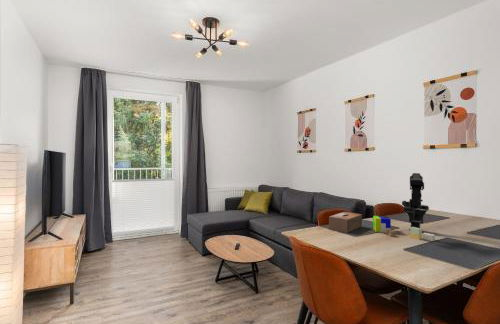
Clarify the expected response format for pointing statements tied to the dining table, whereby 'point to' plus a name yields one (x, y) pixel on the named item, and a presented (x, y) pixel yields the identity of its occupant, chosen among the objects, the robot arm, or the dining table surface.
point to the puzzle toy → (381, 223)
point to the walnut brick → (389, 232)
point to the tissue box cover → (345, 222)
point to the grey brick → (428, 236)
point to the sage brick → (415, 230)
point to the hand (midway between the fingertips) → (415, 221)
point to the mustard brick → (415, 236)
